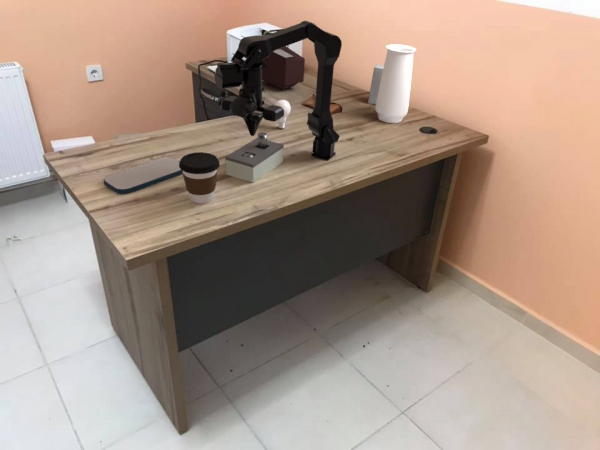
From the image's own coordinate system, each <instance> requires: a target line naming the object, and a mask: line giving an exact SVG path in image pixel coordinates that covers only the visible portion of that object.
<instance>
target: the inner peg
mask: <svg viewBox="0 0 600 450" xmlns="http://www.w3.org/2000/svg"><path fill="white" fill-rule="evenodd" d="M257 138H258V148H261V149H266V148H267V140H268V134H267V132H259V133H257Z"/></svg>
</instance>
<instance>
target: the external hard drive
mask: <svg viewBox="0 0 600 450" xmlns="http://www.w3.org/2000/svg"><path fill="white" fill-rule="evenodd" d="M179 162H180V161H178V160H177V159H175V158H172V157H167V156H165V157H160V158H159V157H158V158H155V159H153V160H150V161H147V162H143V163H140V164H139V165H135V166H131V167H129V168H128V167H127V168H126V169H122V170H120V171H116V172H114V173H110V174H108V175H107V176H106V175H105V177H104V178H103V183H104V186H105V187H107V188H108V189H109V190H111V191H113V192H114V193H116V194H118V195H127V194H132V193H135V192H138V191H140V190H143V189H146V188H149V187H151V186H154V185H156V184H159V183H162V182H165V181H168V180H171V179H173V178H175V177H179V176H181V175H183V171H182V170H181V169H180V168H179Z"/></svg>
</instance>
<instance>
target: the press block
mask: <svg viewBox="0 0 600 450" xmlns="http://www.w3.org/2000/svg"><path fill="white" fill-rule="evenodd" d="M284 147H285V145H284V144H282V143H280V142H279V143H278V142H274V141H272V140H268V139H267V148H266V149H261V148H258V137H256V138H255V139H252V140H251V141H250V142H248V143H246V144H244V145H243V146H241V147H240V148H238V149H235V150H234V151H232V152H231V153H229V154H227V155H226V156H225V175H227V176H229V177H234V178H237V179H239V180H243V181H246V182H249V183H255V182H256V181H258V180H260V179H261V178H262V177H264V176H265V175H266V174H267V173H270V172H271V171H272V170H273V169H275V168H276V167H278V166H279V165H281V164H282V163H283V162H284ZM245 153H252V154H253V157H252V158H247V157H244V154H245Z"/></svg>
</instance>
